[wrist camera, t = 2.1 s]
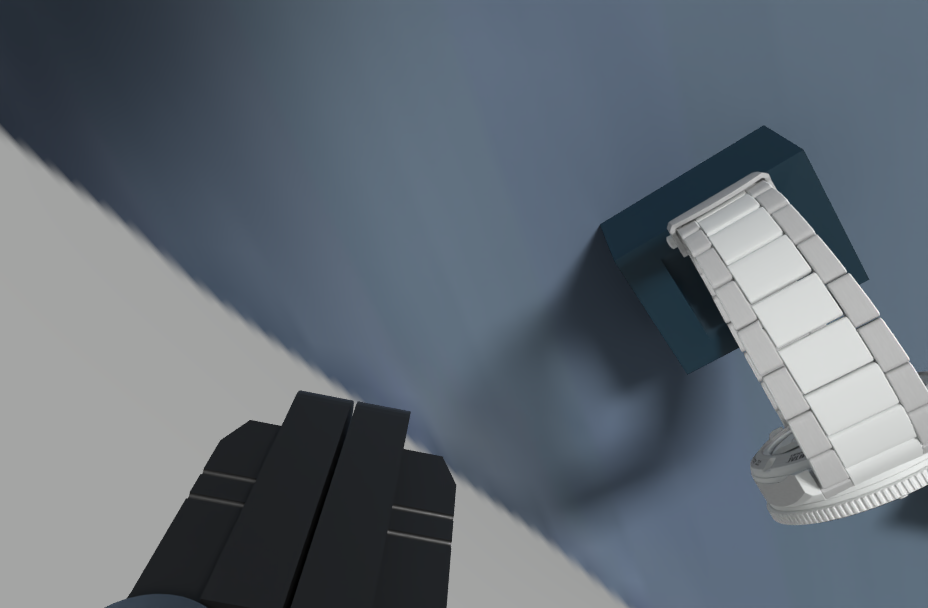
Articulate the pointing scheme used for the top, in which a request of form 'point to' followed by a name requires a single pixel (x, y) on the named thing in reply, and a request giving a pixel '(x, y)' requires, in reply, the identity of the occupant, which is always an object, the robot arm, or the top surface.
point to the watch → (782, 324)
